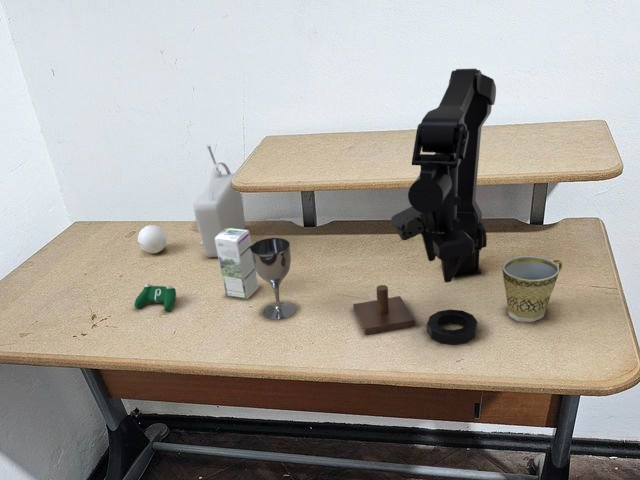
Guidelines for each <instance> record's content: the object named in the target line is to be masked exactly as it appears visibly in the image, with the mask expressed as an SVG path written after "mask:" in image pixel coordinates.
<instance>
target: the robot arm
mask: <svg viewBox="0 0 640 480" xmlns="http://www.w3.org/2000/svg"><path fill="white" fill-rule="evenodd" d="M496 97H497V86H496V83H495V81H494V79H493V78H491V77H490V76H487V75H486V74H484V73H482V71H481V70H480V69H477V68H456V69H455V70H452V71H451V73H450V77H449V79H448V85H447V88H446V90H445V92H444V94H443V96H442V98H441V100H440V102H439V105H438V107H436V108H433V109H431V110H429V111H427V113H426V114H425V115H424V116H423V118H422V120H421V121H420V123H418V125H417V128H416V134H415V139H414V146H413V152H412V156H411V157H412V158H411V166H420V171H419V175H418V176H417V177H416V179H415V180H414V181H413V182H412V184H411V185H410V187H409V189H408V192H407V198H408V202H409V204H410V207H408V208H407V207H406V208H405V209H404V210H401V211H400V212H398V213H396V214H394V215H392V216H391V222H392V225H393V226H394V229H395V231H396V234H397V235H398V236H399V237H400V239H401V241H407V240H410V239H412V238H415V237H417V236H418V235H421V237H422V238H421V239H422V242H423V245H424V249H425V252H426V257H427V260H428V262H434V261H435V260H436V258H437V259H438V260H440V262H441V264H440V265H441V270H442V276H443V281H444V283H446V284H447V283H451V282H452V280H453V279H456V278H461V277H462V278H463V277H468V276H469V277H470V276H474V275H480V274H482V272H483V271H482V269H481V268H480V251H482V249H483V248H486V247H487V244H488V236H487V230H486V226H485V223H484V222H482V221H483V219H482V218H483V212H482V210H481V209H480V207H479V205H478V203H477V201H476V197H477V184H478V175H479V174H478V173H479V172H478V171H479V161H480V149H481V148H480V147H481V135H482V127H483V126H484V124H485V122H487V120H488V119H489V117H490V115H491V114H492V107H493V106H494V105H495V103H496Z"/></svg>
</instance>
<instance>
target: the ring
mask: <svg viewBox="0 0 640 480" xmlns="http://www.w3.org/2000/svg"><path fill="white" fill-rule="evenodd" d="M449 324H451V325H452V324H453V325H458V326H461V328H456V329H450V328H445V327H443V326H444V325H449ZM477 332H478V320H477V319H476V317H475V316H474V315H473V314H472V313H469V312H467V311H464V310H461V309H444V310H438V311H436V312H434V313H433V314H431V315H429V317H428V319H427V322H426V333H427V335H428V336H429V338H430V339H431V340H433V341H435V342H437V343H439V344H442V345H452V346H456V345H463V344H467V343H468V342H470V341H472V340H473V339H475V338H476V335H477Z"/></svg>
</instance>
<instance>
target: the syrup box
mask: <svg viewBox="0 0 640 480" xmlns="http://www.w3.org/2000/svg"><path fill="white" fill-rule="evenodd" d="M215 244H216V248H217V253H218V257H217V258H218V262H219V267H220V272H221V277H222V283H223V287H224V291H225V296H226V297H231V298H235V299H236V298H237V299H244V300H248V299H249V298H251V297H252V296H253V295H254V293H255V292H256V291H257V290H259V287H260V286H259V281H258V276H257V275H258V274H257V272H256V269H255V267H254V264H253V261H252V257H251V251H250V248H251V246H252V245H253V244H252V240H251V234H250V230H249V229H245V230H242V229H231V228H227V229H225V230H223V231H222V232H221V233H219V234H218V235H217V236H216V237H215Z"/></svg>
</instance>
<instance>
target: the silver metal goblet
mask: <svg viewBox="0 0 640 480" xmlns="http://www.w3.org/2000/svg"><path fill="white" fill-rule="evenodd" d="M251 245H252V246H251V248H250V251H251V257H252V261H253V264H254V267H255V270H256V274H257V275H258V277H260V278H261V280H263V281H264V282H266V283H267V284H269V285H270V286H271V288H272V290H273V293H274V297H275V302H274V303H271V304H268V305H267V306H265V307H264V309H262V315H263V317H264V318H266V319H269V320H275V321H276V320H277V321H278V320H284V319H288V318H289V317H291V316H293V315H294V314H295V313H296V311H297V307H296V306H295V305H294V304H292V303H291V302H287V301H280V300H281V299H280V286H281V283H282V282H283V280H284V279H285V278H286V277H287V275H288V273H289V272H290V270H291V269H290V268H291V263H292V252H291V243H290V242H289V240H287V239H286V238H282V237H269V238H263V239H260V240H258V241H255V242H254V243H253V244H251Z"/></svg>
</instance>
